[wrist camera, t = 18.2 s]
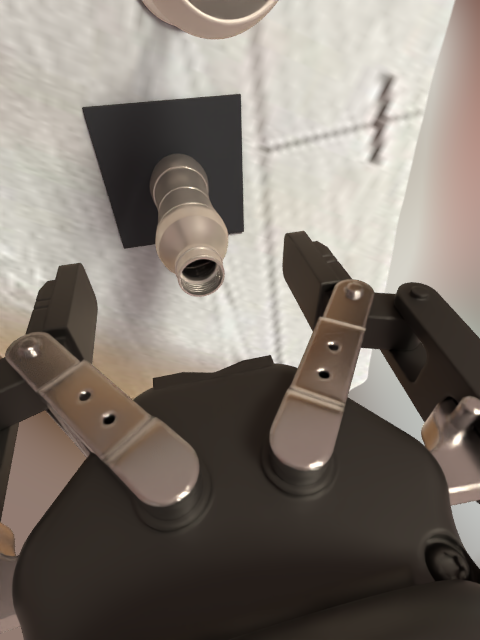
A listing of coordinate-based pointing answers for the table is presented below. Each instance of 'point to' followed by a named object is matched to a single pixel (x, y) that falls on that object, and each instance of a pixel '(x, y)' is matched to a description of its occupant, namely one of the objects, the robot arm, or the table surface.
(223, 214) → the felt mat
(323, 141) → the table surface
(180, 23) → the wineglass
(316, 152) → the table surface
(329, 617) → the robot arm
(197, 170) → the plastic bottle
